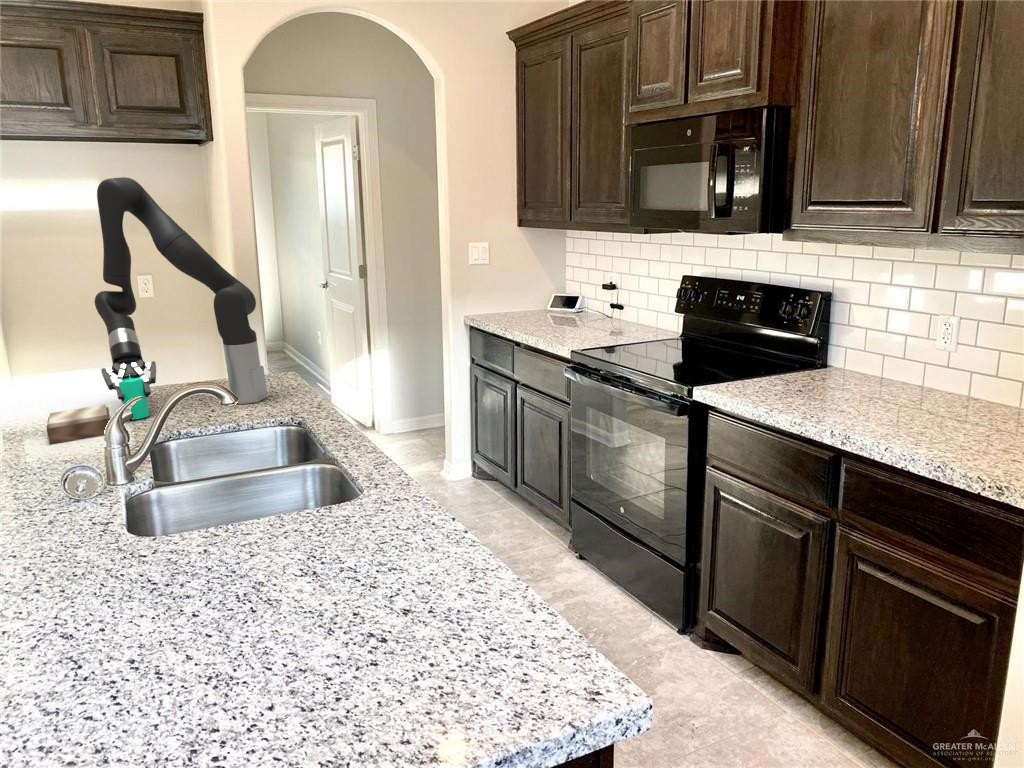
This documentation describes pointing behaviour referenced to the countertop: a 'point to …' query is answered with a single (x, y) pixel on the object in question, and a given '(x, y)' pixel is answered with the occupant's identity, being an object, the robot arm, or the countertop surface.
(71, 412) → the plinth
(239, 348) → the robot arm
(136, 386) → the candle
